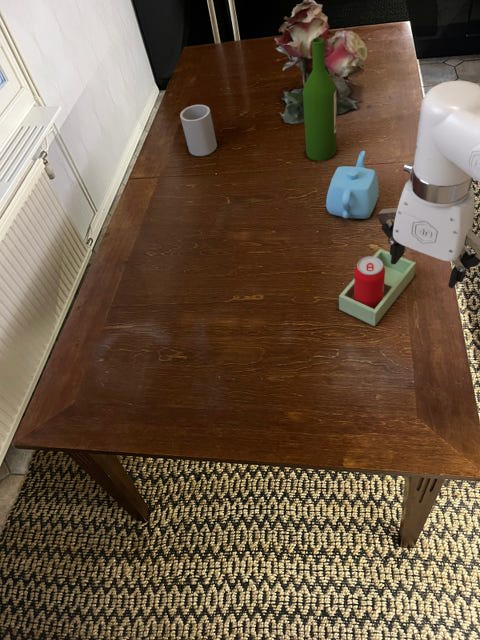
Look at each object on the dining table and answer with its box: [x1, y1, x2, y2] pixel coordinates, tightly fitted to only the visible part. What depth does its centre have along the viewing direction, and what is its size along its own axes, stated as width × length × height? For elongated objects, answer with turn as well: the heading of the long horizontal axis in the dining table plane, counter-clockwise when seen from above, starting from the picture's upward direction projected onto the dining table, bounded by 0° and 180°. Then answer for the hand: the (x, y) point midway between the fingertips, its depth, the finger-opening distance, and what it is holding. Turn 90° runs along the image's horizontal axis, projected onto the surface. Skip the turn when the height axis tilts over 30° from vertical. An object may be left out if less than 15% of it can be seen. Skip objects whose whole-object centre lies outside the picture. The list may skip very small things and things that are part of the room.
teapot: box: [325, 150, 380, 220], centre depth 136 cm, size 12×18×12 cm
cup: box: [179, 104, 218, 157], centre depth 164 cm, size 9×9×12 cm
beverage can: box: [353, 255, 385, 309], centre depth 114 cm, size 6×6×12 cm
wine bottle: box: [303, 38, 337, 162], centre depth 145 cm, size 9×9×32 cm
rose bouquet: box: [274, 0, 368, 125], centre depth 165 cm, size 26×29×30 cm
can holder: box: [338, 248, 417, 327], centre depth 119 cm, size 9×17×5 cm, turn 141°
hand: (425, 270), depth 83 cm, fingers open, 9 cm apart
